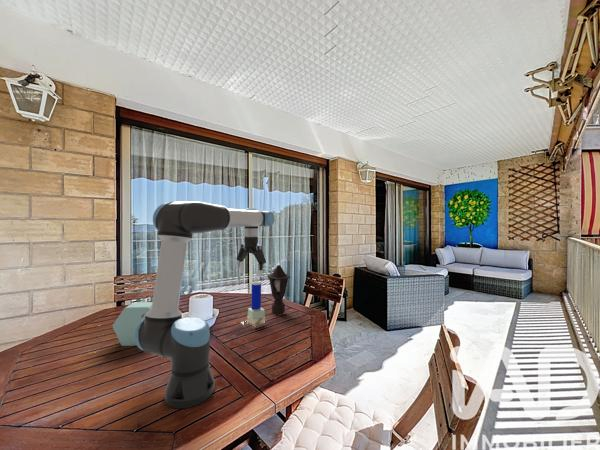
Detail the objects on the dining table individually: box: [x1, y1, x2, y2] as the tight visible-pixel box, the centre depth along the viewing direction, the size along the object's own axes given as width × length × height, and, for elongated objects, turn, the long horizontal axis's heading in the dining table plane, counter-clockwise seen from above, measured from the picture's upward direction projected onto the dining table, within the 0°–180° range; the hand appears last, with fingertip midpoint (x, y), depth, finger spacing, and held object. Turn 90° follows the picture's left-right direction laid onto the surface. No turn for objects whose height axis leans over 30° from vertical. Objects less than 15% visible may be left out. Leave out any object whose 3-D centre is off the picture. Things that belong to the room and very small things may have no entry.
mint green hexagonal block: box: [112, 301, 152, 347], centre depth 120 cm, size 17×8×21 cm
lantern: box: [266, 264, 291, 315], centre depth 159 cm, size 15×15×30 cm
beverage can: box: [250, 280, 262, 310], centre depth 142 cm, size 5×5×15 cm
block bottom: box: [246, 315, 266, 327], centre depth 142 cm, size 7×7×4 cm
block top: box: [247, 307, 266, 320], centre depth 142 cm, size 7×7×4 cm
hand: (250, 274), depth 141 cm, fingers open, 13 cm apart
